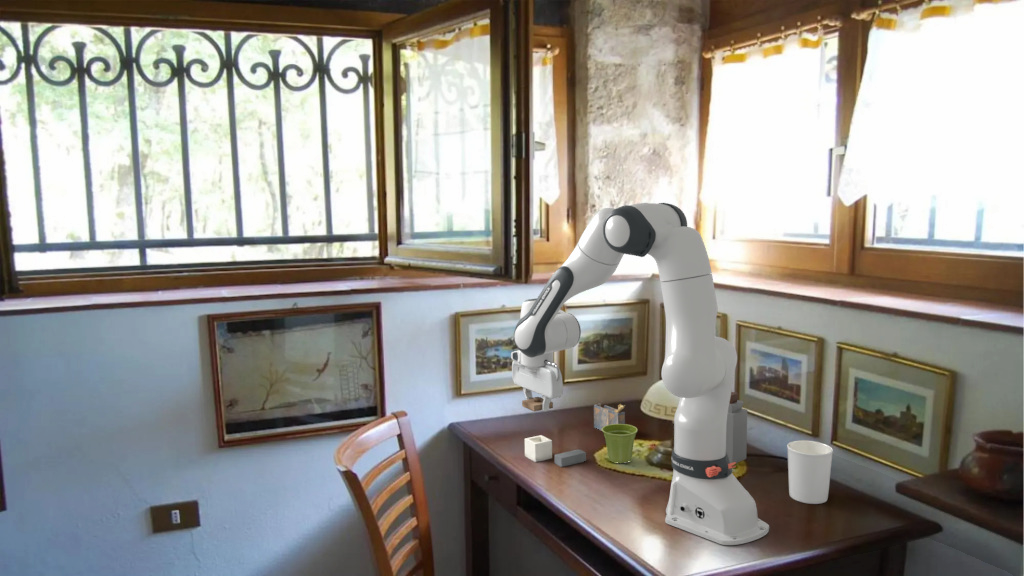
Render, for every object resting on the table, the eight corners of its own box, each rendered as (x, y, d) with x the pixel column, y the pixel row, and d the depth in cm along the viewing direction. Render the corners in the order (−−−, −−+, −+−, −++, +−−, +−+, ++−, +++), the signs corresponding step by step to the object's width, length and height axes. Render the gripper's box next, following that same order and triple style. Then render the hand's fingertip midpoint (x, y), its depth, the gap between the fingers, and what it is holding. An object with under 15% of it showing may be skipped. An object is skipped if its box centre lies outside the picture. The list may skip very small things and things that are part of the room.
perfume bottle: (732, 464, 190) (733, 397, 188) (710, 458, 195) (711, 393, 193) (746, 458, 195) (747, 393, 192) (724, 452, 200) (725, 388, 197)
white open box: (552, 458, 197) (551, 440, 197) (535, 462, 195) (535, 444, 194) (541, 452, 202) (541, 435, 201) (524, 456, 199) (524, 438, 199)
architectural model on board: (626, 436, 216) (625, 404, 214) (618, 438, 214) (618, 406, 213) (601, 427, 225) (601, 396, 224) (593, 429, 223) (593, 398, 222)
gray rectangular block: (585, 461, 195) (585, 452, 194) (561, 467, 191) (561, 458, 190) (578, 457, 197) (578, 449, 197) (554, 463, 193) (554, 454, 193)
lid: (552, 408, 196) (552, 398, 195) (534, 411, 193) (534, 402, 192) (540, 402, 201) (540, 393, 200) (522, 406, 198) (522, 397, 197)
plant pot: (627, 469, 188) (627, 436, 187) (595, 461, 194) (595, 430, 193) (643, 458, 196) (643, 427, 195) (612, 452, 201) (612, 421, 200)
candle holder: (776, 493, 171) (777, 443, 170) (808, 486, 175) (809, 437, 174) (808, 508, 162) (810, 457, 161) (840, 500, 166) (842, 450, 165)
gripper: (568, 362, 188) (569, 414, 189) (526, 349, 205) (527, 397, 207) (548, 365, 185) (549, 418, 186) (507, 352, 202) (508, 400, 204)
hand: (537, 407), depth 197 cm, fingers closed on lid, 6 cm apart
